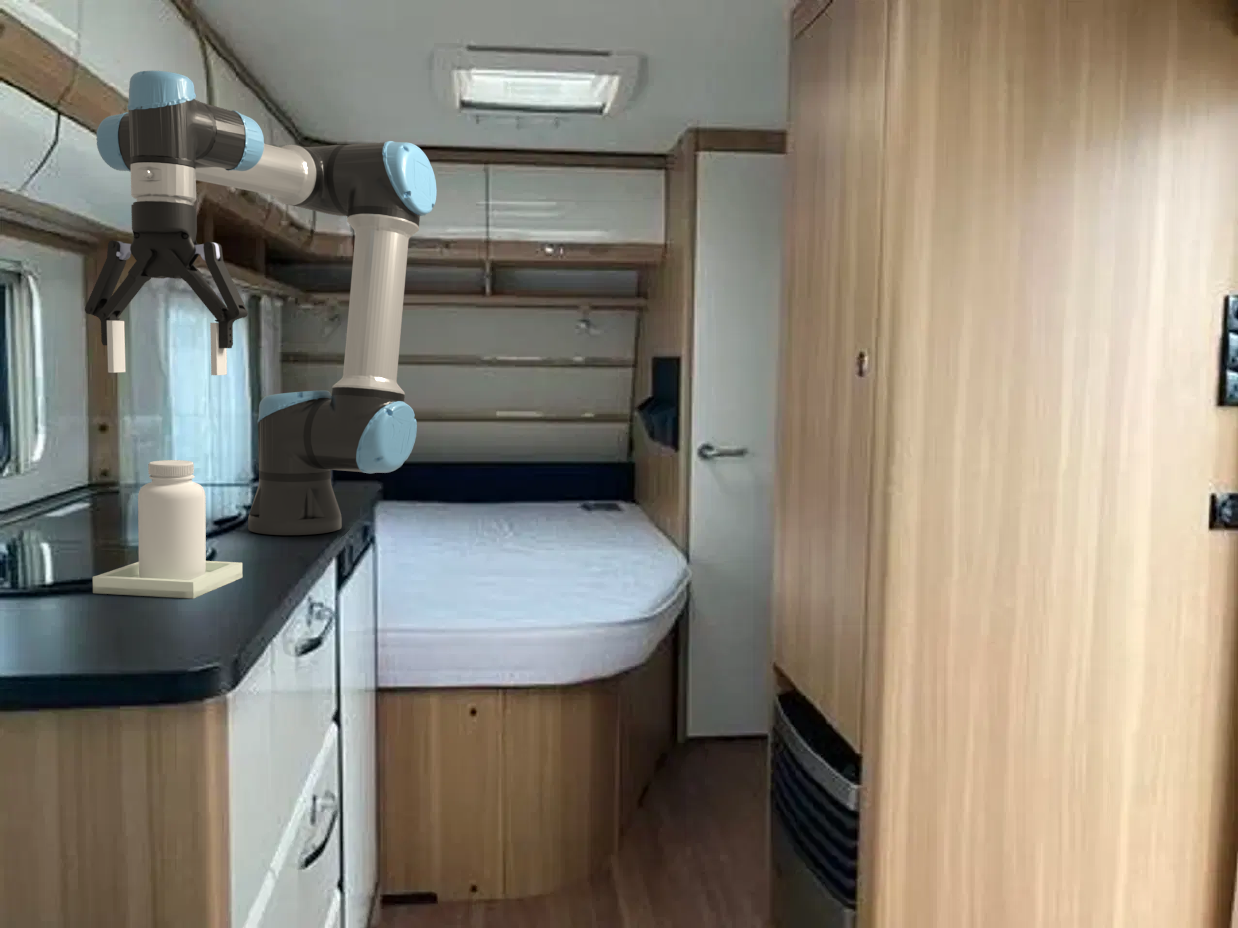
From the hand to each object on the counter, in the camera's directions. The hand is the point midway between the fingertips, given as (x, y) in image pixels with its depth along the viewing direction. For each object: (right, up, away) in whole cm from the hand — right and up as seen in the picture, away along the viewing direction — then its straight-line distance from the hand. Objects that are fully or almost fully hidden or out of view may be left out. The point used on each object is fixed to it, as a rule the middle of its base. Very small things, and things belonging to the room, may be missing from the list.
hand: (167, 374), depth 140 cm
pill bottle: (0, -26, +1) cm, 26 cm away
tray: (0, -27, +1) cm, 27 cm away
